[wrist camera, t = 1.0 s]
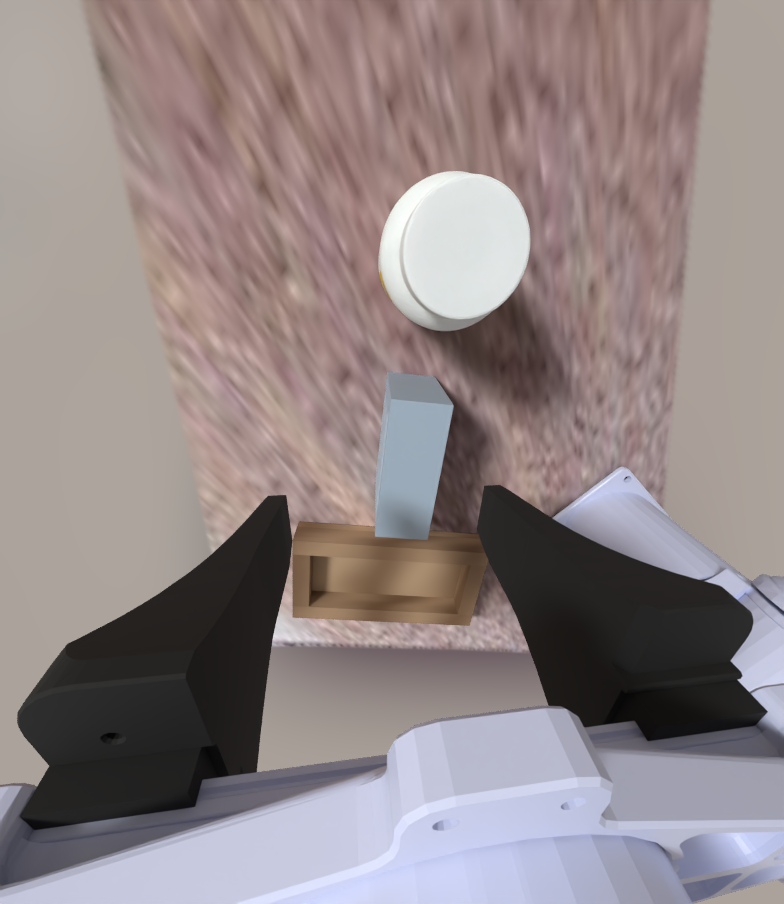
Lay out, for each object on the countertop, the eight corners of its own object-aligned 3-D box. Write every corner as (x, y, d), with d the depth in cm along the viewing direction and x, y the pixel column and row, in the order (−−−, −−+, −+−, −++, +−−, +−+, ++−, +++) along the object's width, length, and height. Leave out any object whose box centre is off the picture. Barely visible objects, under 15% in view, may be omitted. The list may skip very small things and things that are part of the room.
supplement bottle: (379, 206, 18) (381, 132, 10) (481, 210, 19) (573, 142, 10) (377, 317, 21) (379, 339, 12) (468, 319, 21) (535, 342, 12)
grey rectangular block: (386, 371, 22) (390, 399, 17) (435, 376, 22) (454, 405, 17) (374, 483, 25) (374, 536, 20) (417, 486, 26) (428, 540, 20)
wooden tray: (482, 534, 28) (490, 553, 26) (463, 603, 31) (469, 625, 29) (298, 521, 26) (292, 540, 24) (298, 595, 29) (292, 617, 27)
